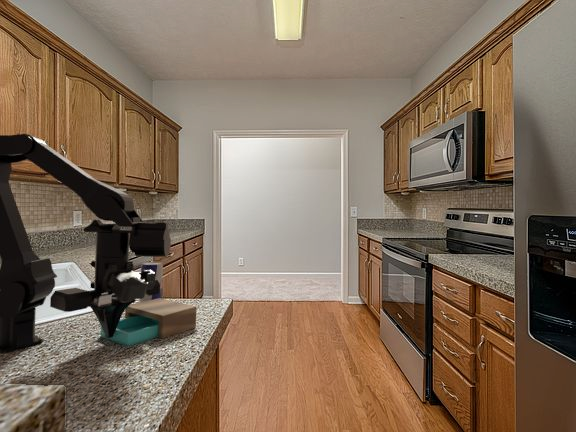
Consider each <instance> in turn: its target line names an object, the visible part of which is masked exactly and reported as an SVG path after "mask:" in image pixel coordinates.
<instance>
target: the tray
mask: <svg viewBox="0 0 576 432" xmlns="http://www.w3.org/2000/svg"><path fill="white" fill-rule="evenodd" d="M158 336H159V321H158V320H155V319H151V318H148V317H144V316H140V315H137V316H133V317H129V318H126V319H125V318H122V319H120V321H119V323H118V326H117V328H116V330H115V333H114V335H113V337H112V338H107V337H106V335H105V333H104V331H103V329H102V327H101V326H100V337H101V338H103V339H106V340H108V341H112V342H114V343H117V344H120V345H122V346H124V347H127V348H128V347H132V346H134V345H137V344H140V343H143V342H146V341H150V340H152V339H155V338H159V337H158Z"/></svg>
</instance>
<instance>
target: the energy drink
mask: <svg viewBox="0 0 576 432" xmlns="http://www.w3.org/2000/svg"><path fill="white" fill-rule="evenodd" d="M146 270H152V271H153V272H155V280H158V281H159V283H160V285H161V290H160V294H155V295H150V296H148V295H147V294H146V293H145V297H144V298H142V299H139V303H141V302H145V301H150V300H154V299H158V298H161V299H163V273H164V265H163V262H161V261H160V262H159V261H147V262H146V261H145V262H142V263H141V266H140V272H142V271H146Z"/></svg>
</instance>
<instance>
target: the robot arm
mask: <svg viewBox="0 0 576 432" xmlns="http://www.w3.org/2000/svg"><path fill="white" fill-rule="evenodd" d="M26 161H29V162H31V163H33V164H34V165H36V166H37V167H39V168H40V169H41V170H43V171H44V172H45V173H47V174H48V175H50V176H51V177H53V178H54V179H56V180H57V181H58V182H60V183H61V184H63V185H64V186H65V187H67V188H69V189H70V190H71V191H73V192H74V193H75V194H76V195H77V196H78V197H79V198H80V200H81V201H82V202H83V204H84V205H85V207H87V208H88V210H90V212H91V213H93V214H94V216H96V217H97V218H98V219H93V220H92V222H91V223H89V225H87V226H86V227H84V228H83V232H85V233H96V234H95V235H96V236H95V259H94V260H91V264H90V266H91V267H93V268H94V282H93V281H92V282H90V287H89V288H90V289H93V290H85V289H82V288H78V287H73V288H71V287H70V288H66V289H56V290H54V288H55V287H56V281H55V280H56V278H57V277H58V275H57V274H56V273H55V272H54V270H53V266H52V261H51V258H49V257H47V258H40V257H39V256H38V255H37V254H36V253H35V252H34V250H33V247H32V245H31V241H30V239H29V236H28V233H27V230H26V227H25V225H24V222H23V219H22V216H21V214H20V211H19V208H18V205H17V203H16V199H15V196H14V194H13V191H12V188H11V185H10V182H9V181H10V177H11V174H12V170H13V169H12V168H13V167H12V166H13V165H12V164H19V163H23V162H26ZM138 213H139V212H137V211H136V210H135V204H134V200H133V197H131V195H129V194H127V192H124V191H122V190H120V189H118V188H116V187H113V186H112V185H109V184H107V183H105V182H102V181H100V180H98V179H96V178H94V177H93V176H91V175H90V174H89V173H87V172H86V171H84V170H83V169H82V168H80V166H79V167H78V166H77V165H76V164H75V163H73V162H72V161H70V160H69V159H68V158H66V157H65V156H63V155H62V154H60V153H59V152H58V151H57V150H55V149H54V148H52V147H50V146H49V145H48V144H47V143H46V142H45V141H44V140H43V139H41V138H38V137H36V136H33V135H32V134H28V133H19V134H10V135H9V134H8V135H7V134H5V135H4V134H0V262H1V264H0V353H5V352H9V351H13V350H17V349H21V348H25V347H28V346H33V345H36V344H40V343H43V342H44V341H43V340H44V338H42V337H39V336H36V309H37V308H36V307H40V306H43V305H44V303H45V301H46V299H47V297H48V296H50V295H51V294H52V295H51V296H50V299H49V300H50V303H49V304H50V308H53V309H56V310H59V311H62V312H66V313H67V312H68V313H69V312H75V311H80V310H85V309H88V307H89V308H90V309H91V311H92V312H93V314H95V317H96V319H97V321H98V323H99V324H100V328H101V327H102V329H103V331H104V333H105V335H106V337H107V338H112V337H113V335H114V333H115V330H116V328H117V326H118V323H119V321H120V320H121V317H122V316H123V313H125V309H126V308H127V307H128V306H129V305H132V304H135V302H136V301H137V299H139V300H140V299H142V298H144V297H145V293H146V294H147V295H148V296H150V295H155V294H160V290H161V285H160V283H159V281H158V280H155V272H153V271H152V270H146V271H142V272H141V271H139V272H136V271H135V269H134V261H133V260H132V261H130V260H129V255H130V251H131V253H134V255H135V256H136V257H147V258H148V257H149V258H150V257H151V258H155V257H156V258H158V257H159V258H160V257H161V258H163V257H164V258H167V257H169V254H170V252H171V242H172V240H171V239H172V238H171V235H170V234H171V233H170V230H169V223H168V222H167V221H165V222H164V221H159V222H145V221H143V219H142V218H141V216H140V215H139V214H138ZM102 221H107V222H113V223H104V222H102ZM122 227H125V228H129V227H130V228H131V229H125V228H124V229H123V228H122ZM53 290H54V292H53Z"/></svg>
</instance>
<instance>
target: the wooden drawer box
mask: <svg viewBox="0 0 576 432" xmlns="http://www.w3.org/2000/svg"><path fill="white" fill-rule="evenodd" d="M124 315H125V316H124V319H126V318H129V317H133V316H137V315H140V316H144V317H148V318H151V319H155V320H158V321H159V336H158V337H157V338H159V339H162V340H163V339H166V338H168V337H172V336H174V335H177V334H180V333H183V332H186V331H188V330H191V329H194V328H196V327H197V306H196V305H191V304H187V303H183V302H178V301H173V300H168V299H165V298H162V299H161V298H158V299H154V300H150V301H145V302H141V303H140V302H138V303H131V304H130V305H129V306H128V307H127V308H126V309H125V310H124Z"/></svg>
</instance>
